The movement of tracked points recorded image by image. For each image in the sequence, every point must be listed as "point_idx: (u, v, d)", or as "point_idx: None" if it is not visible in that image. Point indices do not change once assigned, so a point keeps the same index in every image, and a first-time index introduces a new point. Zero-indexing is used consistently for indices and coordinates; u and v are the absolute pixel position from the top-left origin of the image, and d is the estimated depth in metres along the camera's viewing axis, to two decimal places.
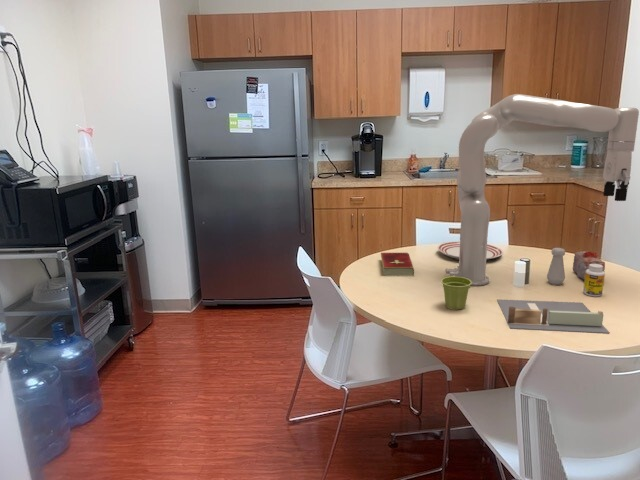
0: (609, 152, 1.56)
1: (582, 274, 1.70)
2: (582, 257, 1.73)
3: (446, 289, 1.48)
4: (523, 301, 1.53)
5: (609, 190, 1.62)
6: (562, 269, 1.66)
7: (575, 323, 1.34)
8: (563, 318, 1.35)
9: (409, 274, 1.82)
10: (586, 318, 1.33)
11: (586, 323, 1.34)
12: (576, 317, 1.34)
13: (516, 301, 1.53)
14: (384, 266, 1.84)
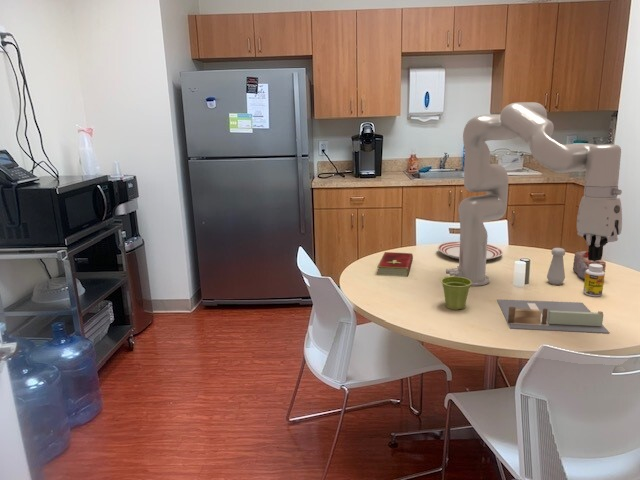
0: None
1: (583, 274, 1.70)
2: (583, 257, 1.73)
3: (446, 289, 1.48)
4: (523, 301, 1.53)
5: None
6: (562, 269, 1.66)
7: (575, 323, 1.34)
8: (563, 318, 1.35)
9: (403, 275, 1.82)
10: (586, 318, 1.33)
11: (586, 323, 1.34)
12: (576, 317, 1.34)
13: (516, 301, 1.53)
14: (379, 265, 1.85)
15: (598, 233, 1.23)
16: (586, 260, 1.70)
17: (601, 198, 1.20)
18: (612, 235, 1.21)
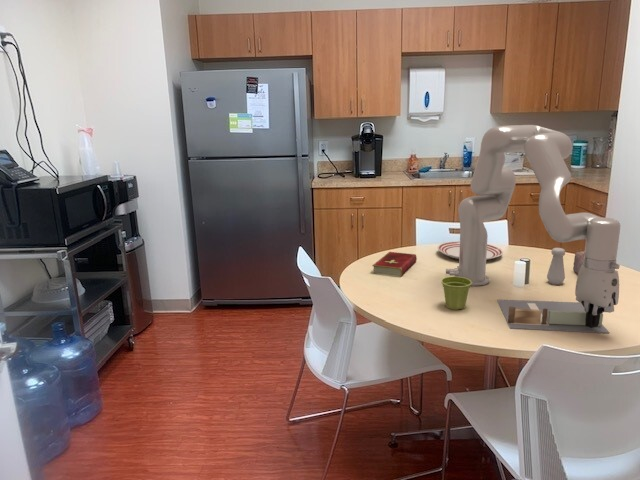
0: None
1: None
2: (583, 257, 1.73)
3: (446, 289, 1.48)
4: (523, 301, 1.53)
5: None
6: (562, 269, 1.66)
7: (575, 323, 1.35)
8: (563, 317, 1.35)
9: (397, 275, 1.82)
10: None
11: None
12: (576, 317, 1.34)
13: (516, 301, 1.53)
14: (375, 264, 1.86)
15: (595, 303, 1.27)
16: None
17: (599, 271, 1.24)
18: (609, 306, 1.25)
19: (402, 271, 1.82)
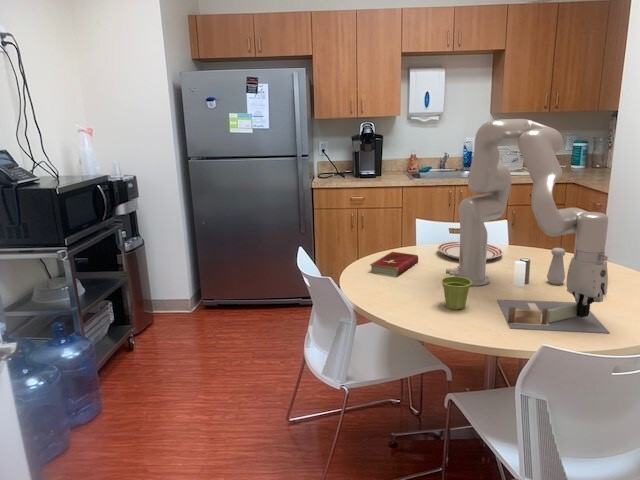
0: None
1: None
2: None
3: (446, 289, 1.48)
4: (523, 301, 1.53)
5: None
6: (562, 269, 1.66)
7: (567, 317, 1.39)
8: (559, 314, 1.37)
9: (394, 275, 1.82)
10: (574, 310, 1.39)
11: (574, 314, 1.40)
12: (568, 311, 1.38)
13: (516, 301, 1.53)
14: (373, 263, 1.88)
15: (585, 293, 1.34)
16: None
17: (589, 263, 1.30)
18: (598, 296, 1.32)
19: (398, 271, 1.82)
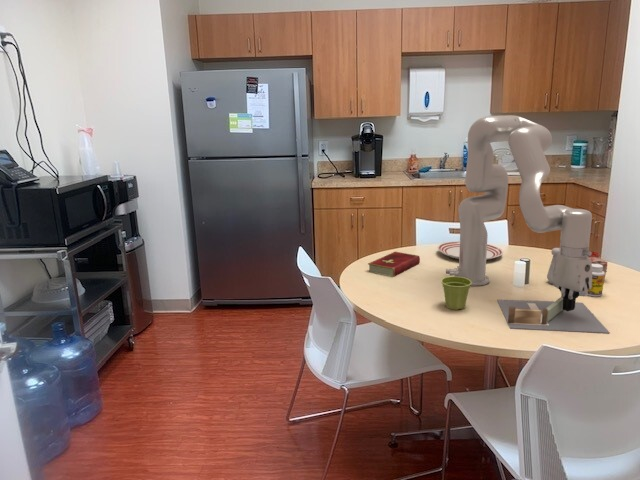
0: None
1: None
2: None
3: (446, 289, 1.48)
4: (523, 301, 1.53)
5: None
6: None
7: (556, 313, 1.42)
8: (553, 311, 1.39)
9: (390, 274, 1.83)
10: (560, 305, 1.43)
11: (560, 309, 1.44)
12: (557, 307, 1.41)
13: (516, 301, 1.53)
14: (371, 262, 1.89)
15: (571, 288, 1.38)
16: None
17: (573, 258, 1.35)
18: (583, 290, 1.36)
19: (395, 271, 1.82)
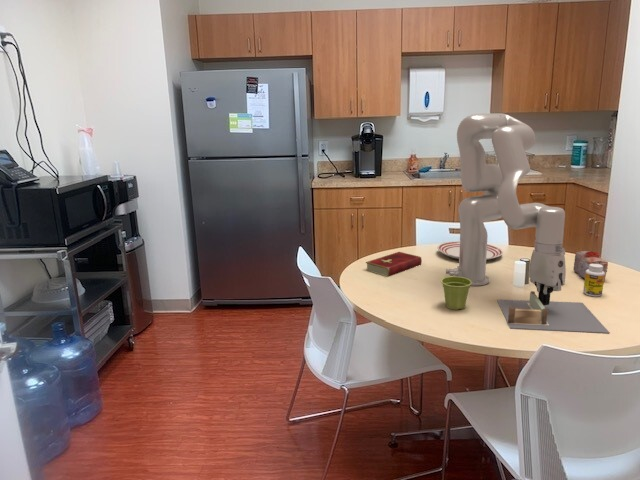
0: None
1: None
2: (584, 257, 1.73)
3: (446, 289, 1.48)
4: (523, 301, 1.53)
5: None
6: None
7: None
8: None
9: (385, 274, 1.83)
10: None
11: None
12: None
13: (516, 301, 1.53)
14: (369, 261, 1.90)
15: (545, 283, 1.43)
16: (588, 260, 1.70)
17: (547, 254, 1.39)
18: (556, 285, 1.41)
19: (390, 271, 1.82)
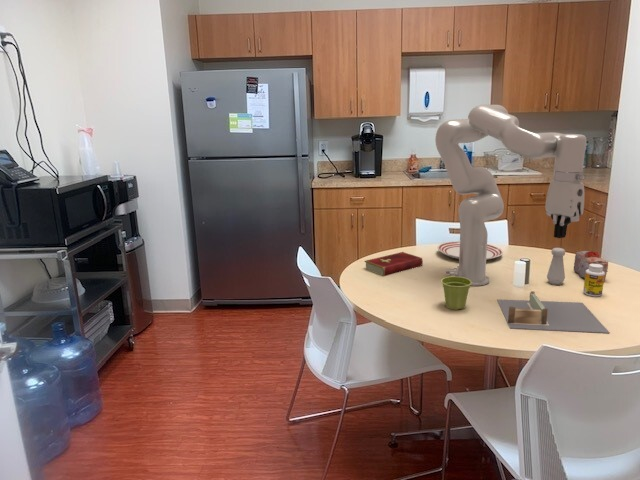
0: None
1: None
2: (584, 257, 1.73)
3: (446, 289, 1.48)
4: (523, 301, 1.53)
5: None
6: (562, 269, 1.66)
7: None
8: None
9: (381, 273, 1.84)
10: None
11: None
12: None
13: (516, 301, 1.53)
14: (368, 260, 1.92)
15: (563, 213, 1.38)
16: (589, 260, 1.70)
17: (566, 182, 1.35)
18: (575, 215, 1.37)
19: (386, 270, 1.83)
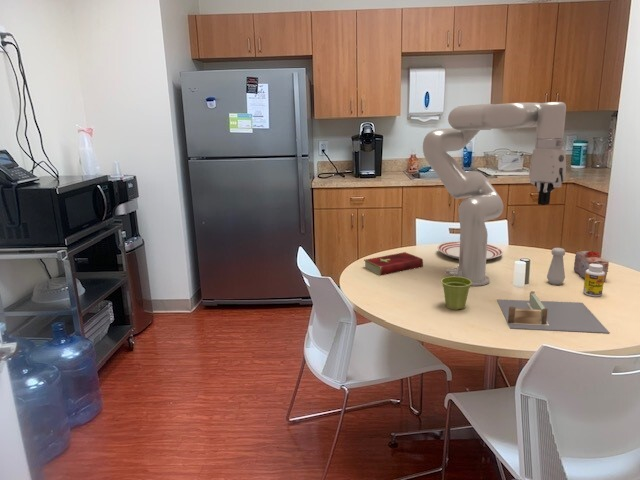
0: None
1: None
2: (585, 257, 1.73)
3: (446, 289, 1.48)
4: (523, 301, 1.53)
5: None
6: (562, 269, 1.66)
7: None
8: None
9: (378, 273, 1.85)
10: None
11: None
12: None
13: (516, 301, 1.53)
14: (367, 259, 1.93)
15: (545, 180, 1.42)
16: (589, 260, 1.70)
17: (548, 149, 1.39)
18: (557, 181, 1.40)
19: (382, 270, 1.84)
